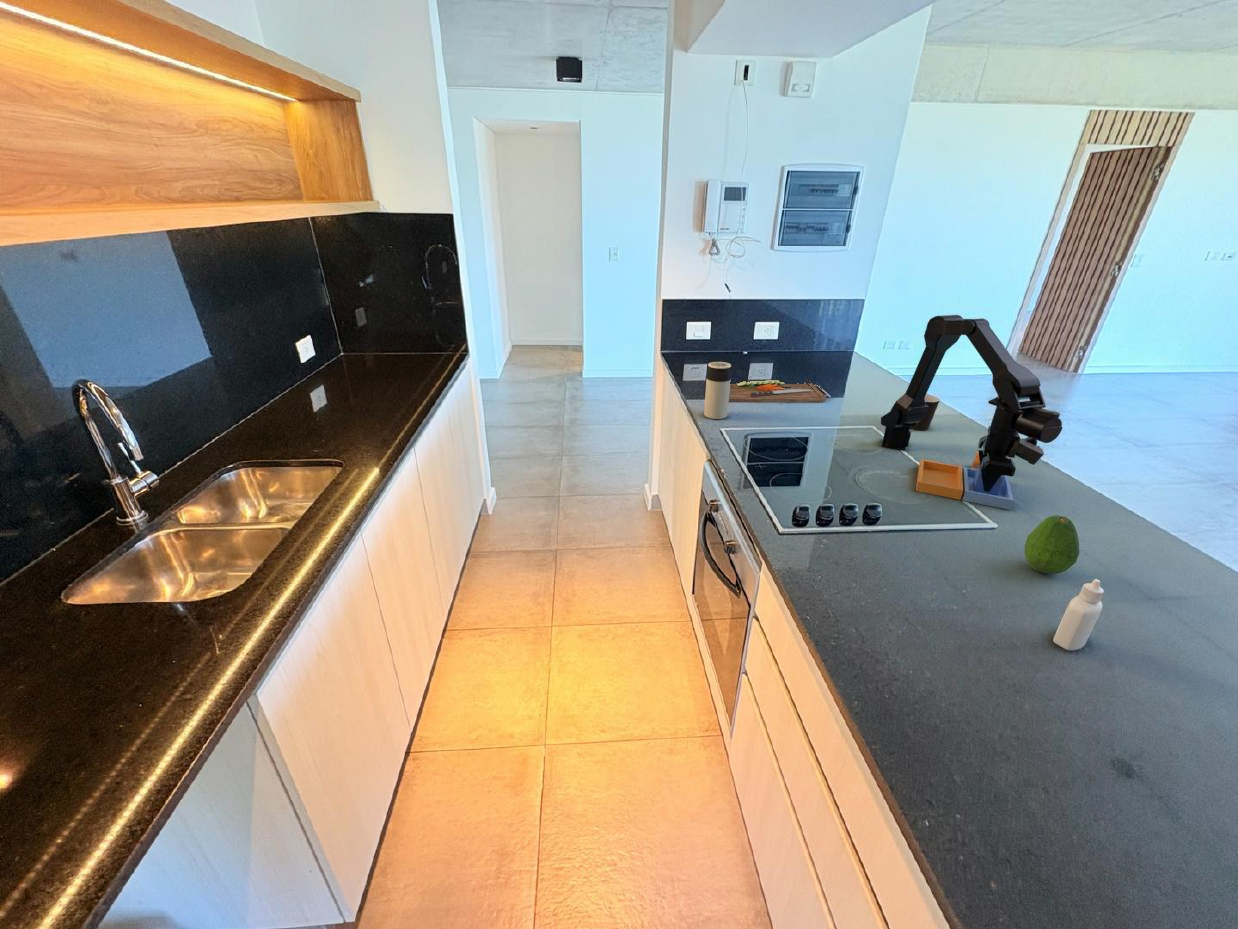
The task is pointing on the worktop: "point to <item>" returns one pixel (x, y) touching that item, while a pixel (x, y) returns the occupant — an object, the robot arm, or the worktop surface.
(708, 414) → the travel mug
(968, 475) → the blue tray
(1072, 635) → the eye dropper bottle
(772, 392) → the chopping board
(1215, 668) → the worktop surface
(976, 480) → the blue block
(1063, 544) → the avocado
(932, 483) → the amber tray
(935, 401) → the coffee mug
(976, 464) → the orange cylinder
